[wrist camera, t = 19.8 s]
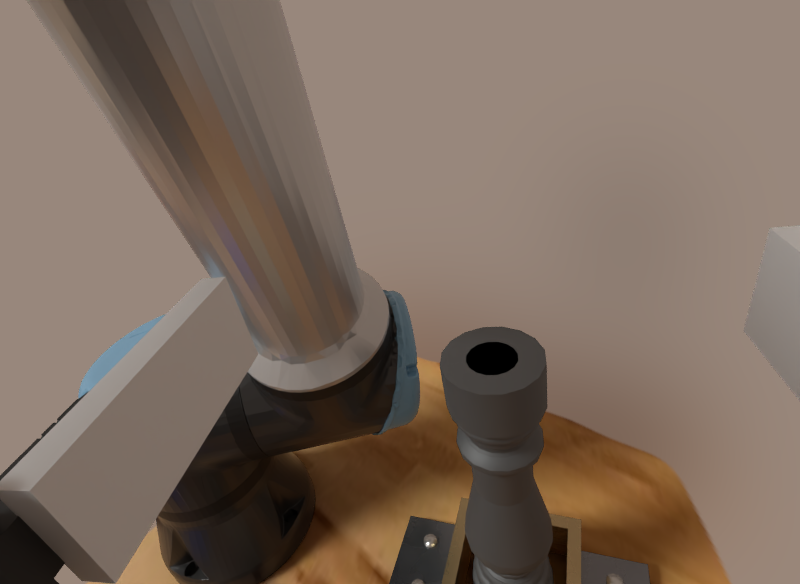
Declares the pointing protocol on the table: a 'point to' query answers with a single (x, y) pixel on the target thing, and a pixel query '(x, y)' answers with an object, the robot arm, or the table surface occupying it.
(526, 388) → the candle holder
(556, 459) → the table surface
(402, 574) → the square socket fixture
